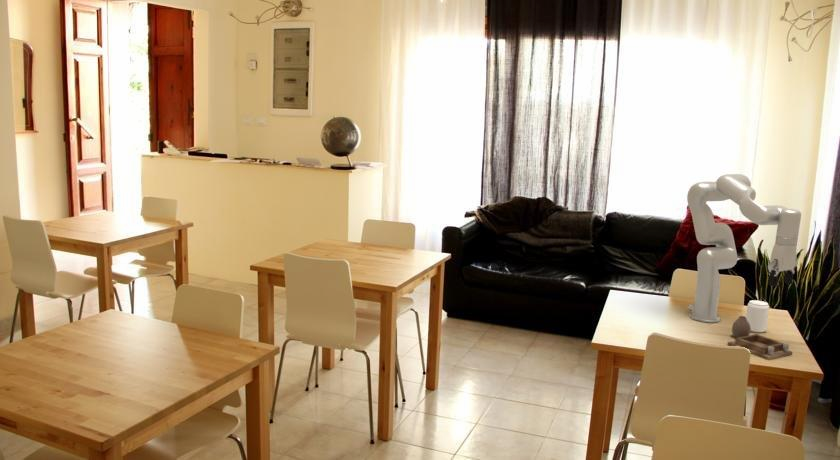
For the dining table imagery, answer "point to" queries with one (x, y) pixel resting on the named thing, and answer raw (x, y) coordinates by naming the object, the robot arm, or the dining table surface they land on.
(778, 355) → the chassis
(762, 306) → the beverage can
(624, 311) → the dining table surface
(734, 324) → the vase
